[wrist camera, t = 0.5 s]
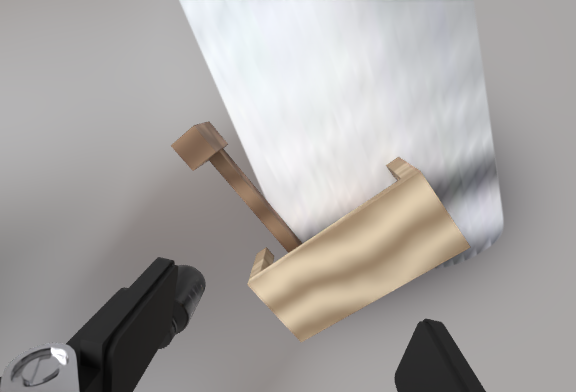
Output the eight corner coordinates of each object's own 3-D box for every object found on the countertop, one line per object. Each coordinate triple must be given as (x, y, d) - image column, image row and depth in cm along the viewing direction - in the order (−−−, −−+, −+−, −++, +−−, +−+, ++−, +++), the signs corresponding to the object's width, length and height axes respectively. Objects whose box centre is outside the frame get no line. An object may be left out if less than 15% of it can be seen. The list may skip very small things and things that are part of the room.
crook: (188, 139, 42) (170, 145, 36) (235, 98, 40) (224, 98, 34) (299, 267, 48) (298, 290, 42) (345, 237, 45) (351, 257, 40)
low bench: (256, 253, 47) (247, 284, 39) (398, 156, 41) (420, 171, 33) (301, 304, 50) (301, 342, 42) (441, 220, 44) (470, 247, 36)
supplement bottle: (171, 298, 51) (132, 355, 40) (163, 263, 49) (120, 314, 37) (209, 297, 51) (182, 355, 39) (203, 262, 48) (172, 314, 37)
